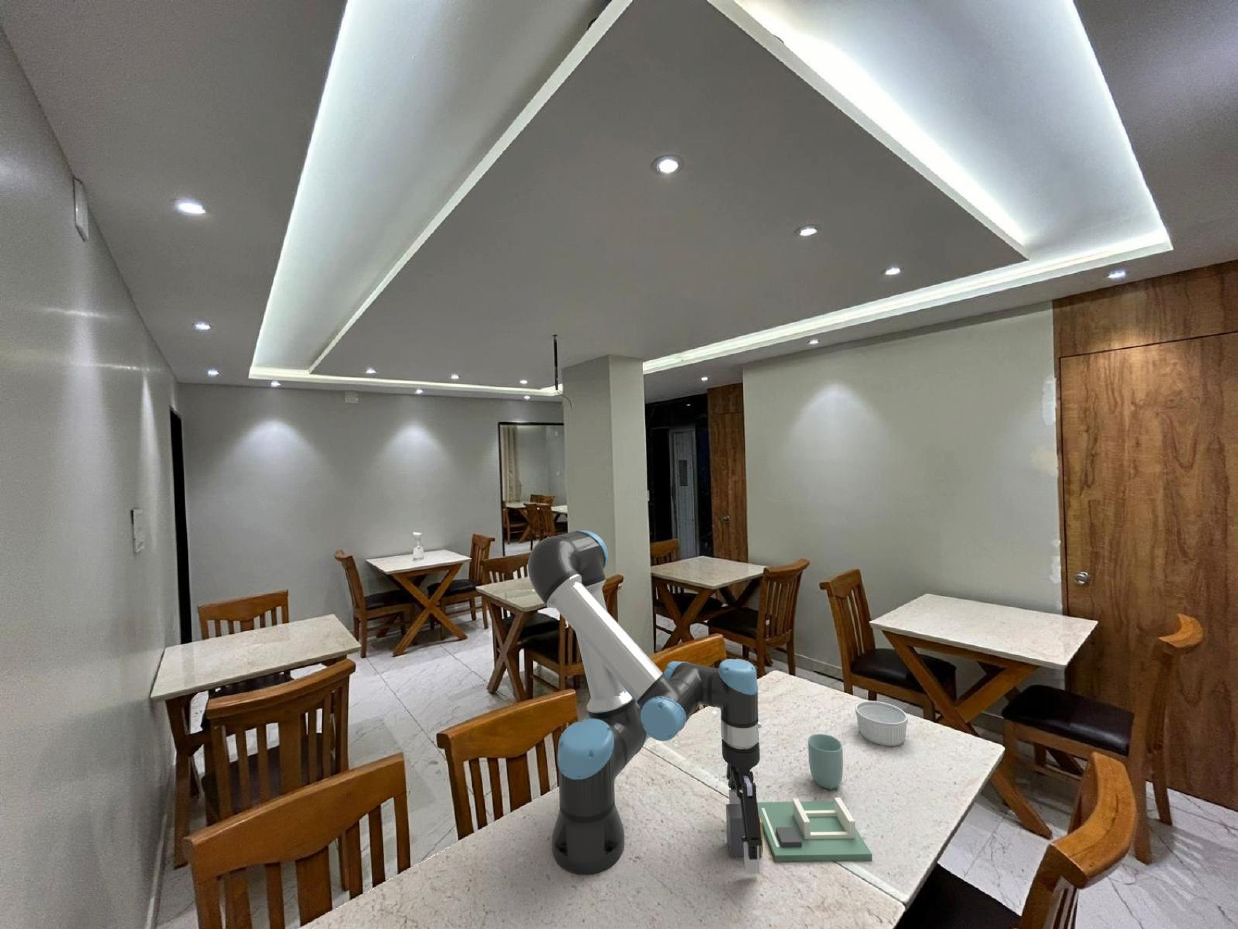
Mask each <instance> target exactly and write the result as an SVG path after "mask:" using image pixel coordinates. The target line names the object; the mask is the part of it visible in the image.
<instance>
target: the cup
mask: <svg viewBox="0 0 1238 929" xmlns="http://www.w3.org/2000/svg"><path fill="white" fill-rule="evenodd" d="M807 751H808V755H807V756H808V765H809V771H810V775H811V778H812V779H813V781H814V783H815V784H816V785H818V786H819V787H821V788H824V789H827V790H828V789H829V790H833V789H837V788H838V787H839V786H840V785H841V783H842V781H843V775H844V754H843V753H844V752H843V744H842V742H841V741H840V740H839V739H838V738H837V737H834V736H832V735H830V734H829V735H828V734H824V733H814V734H811V735H809V737H808V739H807Z"/></svg>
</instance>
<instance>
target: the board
mask: <svg viewBox="0 0 1238 929" xmlns="http://www.w3.org/2000/svg"><path fill="white" fill-rule="evenodd" d="M799 799H800V798H798V797H797V798H792V801H761V802H760V801H759V802H758V801H757V806H758V814H759V815H760V818H761V821H762V831H763V832H764V835H765V837H766V841H767V843H768V845H769V848H770V850H771V854H772V856H773V859H774V861H775V862H779V863H780V862H830V861H831V862H832V861H833V862H834V861H835V862H837V861H838V862H839V861H840V862H841V861H842V862H843V861H845V860H848V861H873V853H872V852H871V850H870V848H869V847H868V845H867V844H866V842H865V840H864V839H863V838H862V836H861V834H860V833H859V831H858V830H857V828H856V821H855V819H854V817H853V816H852V814H851V813H850V812H849V810H848V808H847V806H846V805H845V803H844V802H843V800H842V799H841V797H834V800H823V801H821V800H820V801H819V800H818V801H814V800H813V801H800V800H799Z"/></svg>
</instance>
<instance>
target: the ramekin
mask: <svg viewBox="0 0 1238 929" xmlns="http://www.w3.org/2000/svg"><path fill="white" fill-rule="evenodd" d="M855 715H856V719H857V726H858V730H859V732H860V733H861V734H862V736H863V737H864V738H865V739H867V740H868V741H870V742H872V743H874V744H877V745H880V746H886V747H893V746H894V747H895V746H899V745H901V744H903V743H904V742H905V739H906V737H907V728H908V727H907V725H908V723H909V718H908V714H907V713H906V712H905V711H904V710H903V709H901V708H900V707H898V706H895V705H893V704H890V703H888V702H882V701H876V700H866V701H860V702H859V703H857V704H856V705H855Z"/></svg>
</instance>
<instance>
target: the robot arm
mask: <svg viewBox="0 0 1238 929" xmlns="http://www.w3.org/2000/svg"><path fill="white" fill-rule="evenodd" d="M608 559H609V552H608V548H607V546H606V543H605V542H604V540H603V539H602V538H601V537H600V536H599V535H597V534H596V533H594V532H593V531H589V530H576V531H570V532H566V533H563V534H559V535H555V536H549V537H546V538H544V539H542V540H540V541H539V542H538V543H536V545H535V546H533V548H532V550H531V552H530V554H529V557H528V561H527V574H528V577H529V581H530V583H531V585H532V588H533V590H534V591H535V593H536V594H537V596H538V597H539V598H540V599H541V601H542V602H543V603H544V604H545V605H546V606H547V608H549V609H556V610H557V612H558V613H559V615H561V617H562V618H563V619H564V620H565V621H566V622H567V624H568V625H569V626H570V627H571V628H572V629H573V631H574V632H575V634H576V639H577V643H578V647H579V652H580V656H581V660H582V664H583V668H584V673H585V677H586V682H587V685H588V686H587V687H588V689H589V695H590V699H589V702H588V703H587V704H586V711H587V715H588V718H586V719H585V718H584V719H582V721H575V722H573V723H572V724H570V725H568V727H566V729H565V730H564V731H563V732H561V735H560V737H559V740H558V747H557V748H558V749H557V757H556V758H557V759H556V761H557V767H558V768H557V770H558V771H557V772H558V794H559V795H558V796H559V798H558V799H559V811H558V813H557V816H556V820H555V824H554V827H553V828H554V829H553V832H552V834H551V835H552V837H551V838H552V839H551V845H552V846H551V847H552V848H551V849H552V855H553V857H554V860H555V862H557V864H558V866H560V867H561V868H563V869H564V870H566V871H568V872H570V873H573V874H578V875H590V874H595V873H600V872H603V871H605V870H607V869H609V868H611V866H613V865H614V864H615V863H616V862H617V861H618V860H619V859H620V857H621V856H622V854H623V852H624V848H625V829H624V826H623V823H622V819H621V817H620V814H619V811H618V808H617V806H616V800H615V799H616V796H615V795H616V791H615V780H616V778H617V776H619V774H621V772H622V771H623V770H624V769H625V768H626V767H627V765H628V764H629V763H630V761H631V760H632V759H633V758H634V757H635V756H636V755H637V754H638V753H639V752H640V751H641V750H642V749H643V747H644V745H645V743H646V741H647V740H648V737H650V738H652V739H654V740H656V741H658V742H666V741H671V740H672V739H673V738H675V737H676V735H677V734H678V733H680V732H681V731H682V730H683V728H684V727H685V726H686V724H687V722H688V721H689V719H690V718H691V717H692V716H693V714H694V713H695V712H696V710H697V709H698V707H699V706H700V705H701V706H702V705H703V706H706V707H712V708H718V709H720V732H721V733H720V735H721V756H722V759H723V760H724V762H726V765H727V766H726V775H725V777H726V780H727V781H728V782H727V786H728V788H729V789H728V804H740V805H741V812H742V819H743V826H744V833H745V836H743V838H741V840H742V842H744V858H743V863H744V865H743V868H744V874H748V875H749V874H761V872H760V858H759V846H762V839H761V831H760V822H759V814H758V806H757V802H758V799H757V798H758V797H757V784H756V783H755V782H754V781H755V778H754V772H753V771H752V770H753V768H754V767H756V766H757V765H758V764H759V763H760V760H761V754H760V753H761V752H760V751H761V750H760V749H761V748H760V742H759V741H760V737H759V736H760V733H759V732H760V731H759V729H760V728H762V723H761V722H759V686H758V678H757V669H756V668H755V666H754V665H753V663H752V662H750V661H748V660H744V659H739V658H736V659H734V658H728V659H724V660H723V661H721V662H720V664H719V667H718V668H717V667H710V666H707V665H702V664H694V663H692V662H691V663H690V662H688V661H676V660H674V661H670V662H669V663H668V664H667V665H666V668H665V670H664V671H663V672H662V670H661V669H660V668H659V667H658V666H657V665H656V664H655V663H654V661H652V659H651V658H650V657H649V656H648V655H647V654H646V653H645V652H644V650H643V649H642V648H641V647H640V646H639V645H638V644H637V643H636V642H635V640H633V638H632V637H631V636H630V635H629V634H628V633H627V632H626V631H625V629H623V627H622V626H621V625H620V624H619V623H618V622H617V620H615V618H613V616H612V615H611V614H610V613H609V612H608V610H607V605H606V601H605V597H604V592H603V586H604V585H605V583H606V582H607V579H606V575H605V571H604V569H605V567H606V566H607V562H608Z"/></svg>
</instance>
